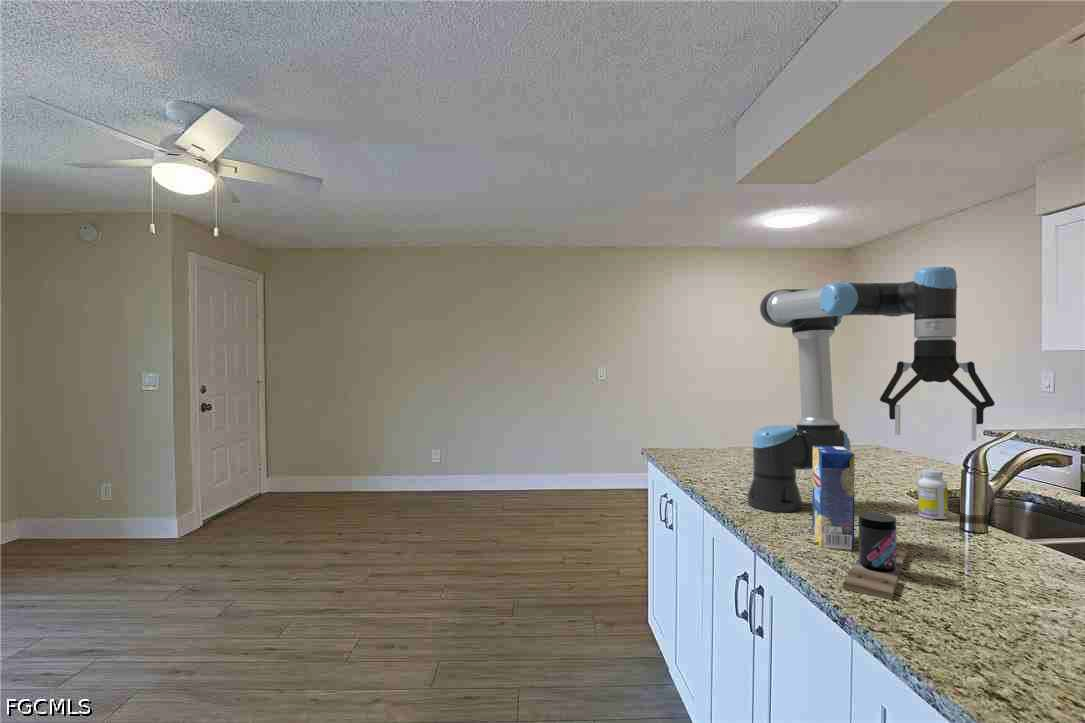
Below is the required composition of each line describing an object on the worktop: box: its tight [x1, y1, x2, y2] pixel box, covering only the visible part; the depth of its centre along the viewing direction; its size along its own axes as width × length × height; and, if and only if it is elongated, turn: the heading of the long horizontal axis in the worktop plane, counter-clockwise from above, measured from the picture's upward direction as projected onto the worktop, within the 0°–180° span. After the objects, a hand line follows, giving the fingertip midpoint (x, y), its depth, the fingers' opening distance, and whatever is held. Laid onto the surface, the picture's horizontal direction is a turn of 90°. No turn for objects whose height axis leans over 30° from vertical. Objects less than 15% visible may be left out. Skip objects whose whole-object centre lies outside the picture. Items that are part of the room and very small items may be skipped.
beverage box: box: [812, 446, 855, 551], centre depth 134 cm, size 7×11×22 cm, turn 164°
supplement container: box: [858, 511, 897, 572], centre depth 116 cm, size 7×7×10 cm
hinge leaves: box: [842, 548, 907, 601], centre depth 116 cm, size 28×8×1 cm, turn 143°
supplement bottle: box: [917, 468, 949, 520], centre depth 153 cm, size 7×7×13 cm
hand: (934, 437), depth 122 cm, fingers open, 13 cm apart
